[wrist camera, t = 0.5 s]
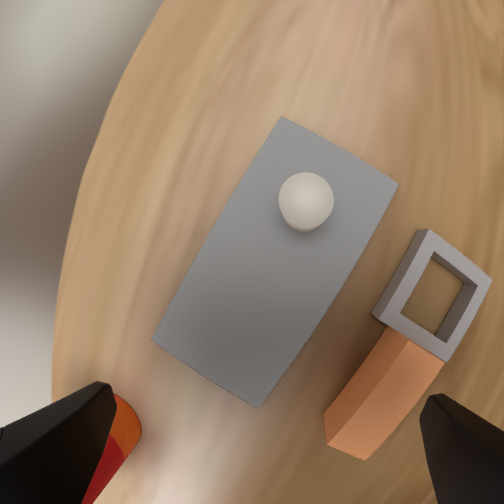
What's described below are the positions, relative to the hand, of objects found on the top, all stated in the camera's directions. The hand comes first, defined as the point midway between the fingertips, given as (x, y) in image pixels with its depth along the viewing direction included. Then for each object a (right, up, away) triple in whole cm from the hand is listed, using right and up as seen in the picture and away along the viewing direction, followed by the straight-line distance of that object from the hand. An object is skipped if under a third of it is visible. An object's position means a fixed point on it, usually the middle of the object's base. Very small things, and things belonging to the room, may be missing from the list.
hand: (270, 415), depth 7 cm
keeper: (+1, +3, +13) cm, 13 cm away
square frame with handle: (+10, -2, +12) cm, 15 cm away
